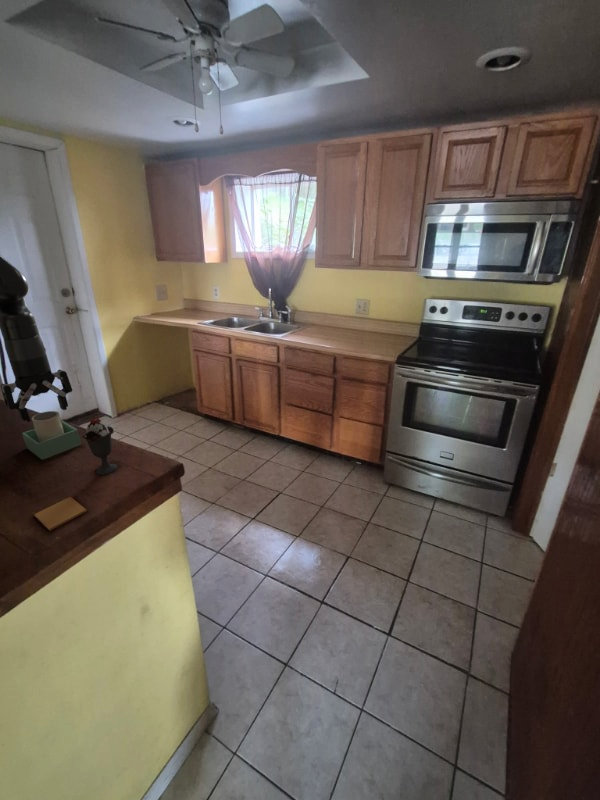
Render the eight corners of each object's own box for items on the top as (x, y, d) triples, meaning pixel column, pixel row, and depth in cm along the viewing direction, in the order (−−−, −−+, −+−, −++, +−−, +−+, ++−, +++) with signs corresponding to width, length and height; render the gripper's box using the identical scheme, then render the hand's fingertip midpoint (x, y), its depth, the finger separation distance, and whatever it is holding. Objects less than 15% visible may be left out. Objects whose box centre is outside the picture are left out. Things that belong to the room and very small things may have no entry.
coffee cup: (46, 454, 95) (37, 422, 92) (37, 447, 98) (27, 416, 95) (71, 445, 100) (63, 414, 96) (61, 438, 103) (52, 408, 99)
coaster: (49, 531, 71) (49, 529, 71) (34, 516, 75) (33, 514, 75) (86, 511, 76) (86, 509, 76) (70, 498, 80) (70, 496, 80)
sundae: (111, 458, 95) (99, 405, 89) (126, 467, 91) (114, 412, 85) (85, 470, 90) (70, 414, 84) (100, 480, 86) (85, 422, 80)
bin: (42, 461, 93) (37, 444, 91) (27, 449, 98) (21, 432, 96) (82, 446, 100) (77, 429, 98) (65, 435, 105) (61, 419, 103)
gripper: (52, 345, 96) (68, 402, 103) (-14, 359, 86) (8, 421, 92) (65, 350, 92) (81, 409, 99) (-3, 365, 82) (20, 429, 88)
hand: (46, 415), depth 95 cm, fingers open, 8 cm apart
